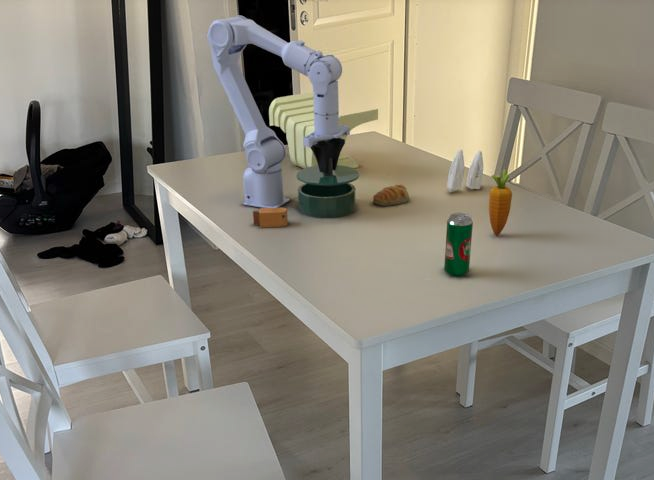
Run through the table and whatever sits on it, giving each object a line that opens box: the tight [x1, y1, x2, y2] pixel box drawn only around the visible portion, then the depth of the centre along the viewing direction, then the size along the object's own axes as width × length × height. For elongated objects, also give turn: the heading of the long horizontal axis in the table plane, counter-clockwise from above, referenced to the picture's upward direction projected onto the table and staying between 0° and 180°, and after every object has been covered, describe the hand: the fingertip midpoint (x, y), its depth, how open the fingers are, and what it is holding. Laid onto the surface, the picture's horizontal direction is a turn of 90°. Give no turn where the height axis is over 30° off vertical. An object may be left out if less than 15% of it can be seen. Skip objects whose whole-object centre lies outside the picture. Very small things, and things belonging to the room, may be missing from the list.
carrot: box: [488, 169, 513, 237], centre depth 165 cm, size 5×5×15 cm
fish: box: [252, 207, 289, 229], centre depth 176 cm, size 8×4×4 cm, turn 95°
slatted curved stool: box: [268, 91, 379, 169], centre depth 212 cm, size 30×16×18 cm, turn 39°
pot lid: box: [296, 156, 361, 186], centre depth 178 cm, size 15×15×5 cm
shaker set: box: [446, 149, 484, 193], centre depth 194 cm, size 12×4×11 cm, turn 122°
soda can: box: [443, 212, 474, 277], centre depth 149 cm, size 5×5×12 cm
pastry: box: [372, 184, 410, 207], centre depth 189 cm, size 9×7×4 cm
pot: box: [297, 182, 357, 219], centre depth 185 cm, size 14×14×5 cm
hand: (327, 170), depth 178 cm, fingers closed on pot lid, 2 cm apart
